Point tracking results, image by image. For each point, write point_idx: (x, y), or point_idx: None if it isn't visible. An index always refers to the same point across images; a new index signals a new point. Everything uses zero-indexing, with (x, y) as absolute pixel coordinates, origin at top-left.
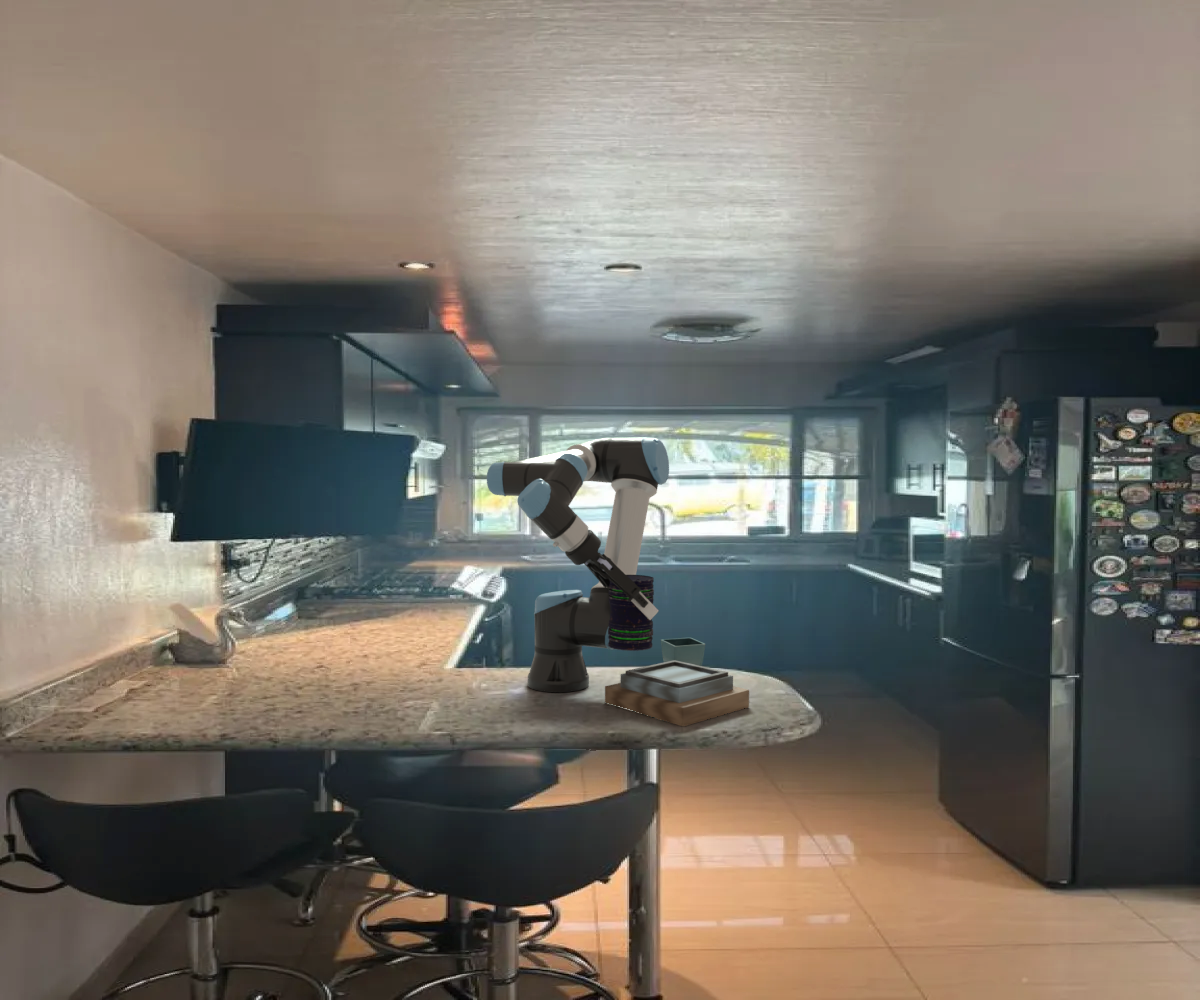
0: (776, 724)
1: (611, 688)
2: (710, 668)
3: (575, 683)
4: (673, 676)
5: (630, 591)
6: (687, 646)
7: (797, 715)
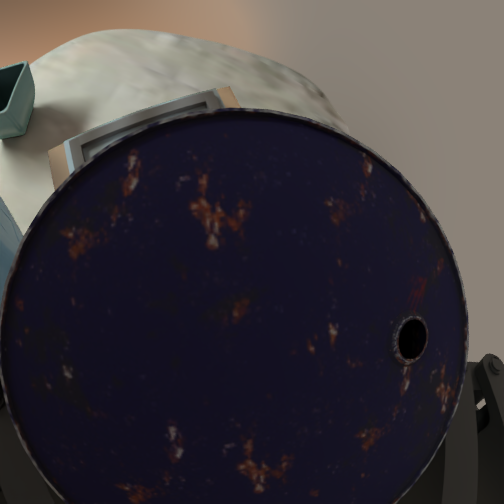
0: (316, 119)
1: None
2: (168, 103)
3: None
4: None
5: (481, 415)
6: (16, 90)
7: (284, 76)
